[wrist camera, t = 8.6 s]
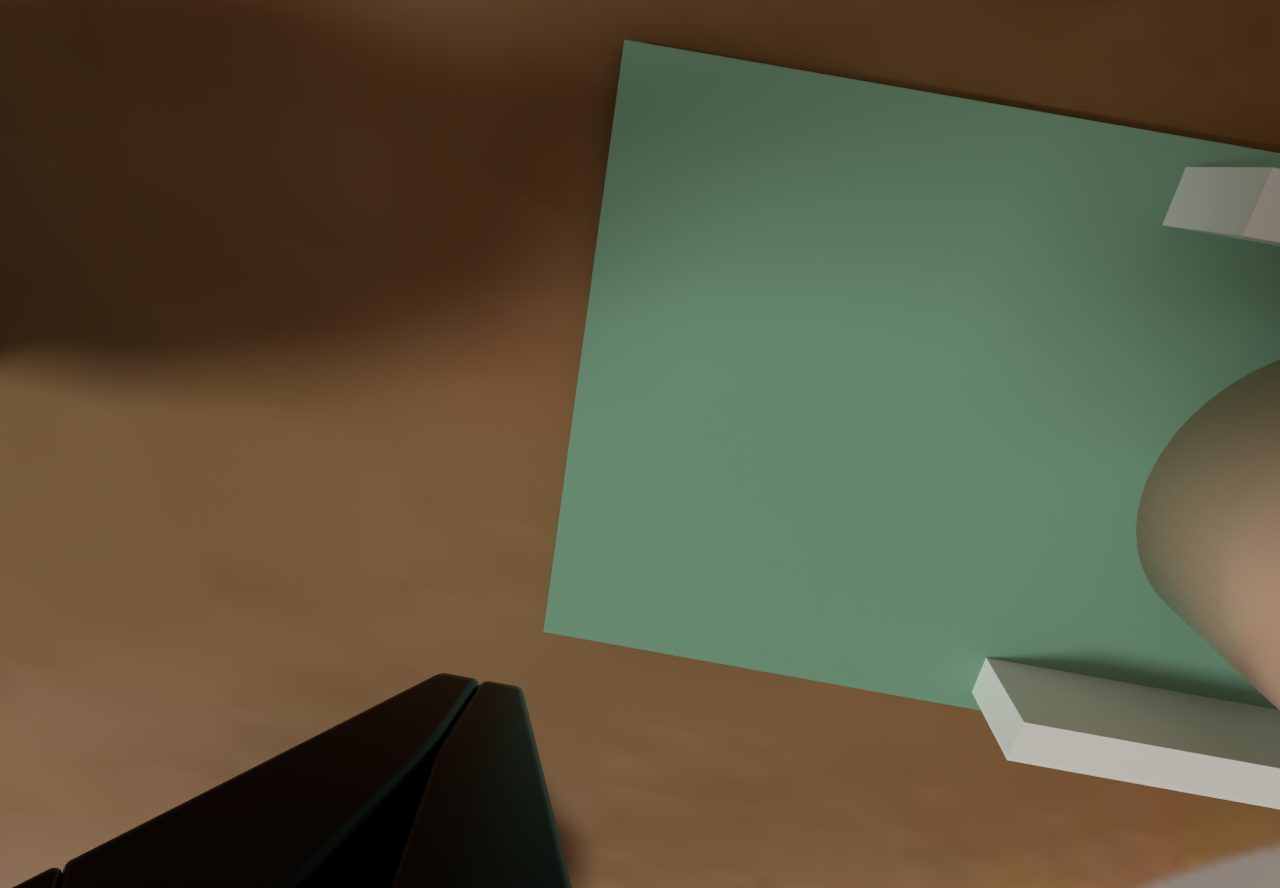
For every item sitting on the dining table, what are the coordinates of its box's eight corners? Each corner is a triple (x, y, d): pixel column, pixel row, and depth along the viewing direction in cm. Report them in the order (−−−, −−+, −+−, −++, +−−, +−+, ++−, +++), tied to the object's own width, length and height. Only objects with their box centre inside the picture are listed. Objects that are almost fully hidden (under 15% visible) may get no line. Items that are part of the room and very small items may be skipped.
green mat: (546, 623, 21) (543, 631, 21) (625, 42, 16) (624, 39, 15) (1407, 778, 21) (1420, 789, 21) (1790, 244, 16) (1817, 246, 15)
